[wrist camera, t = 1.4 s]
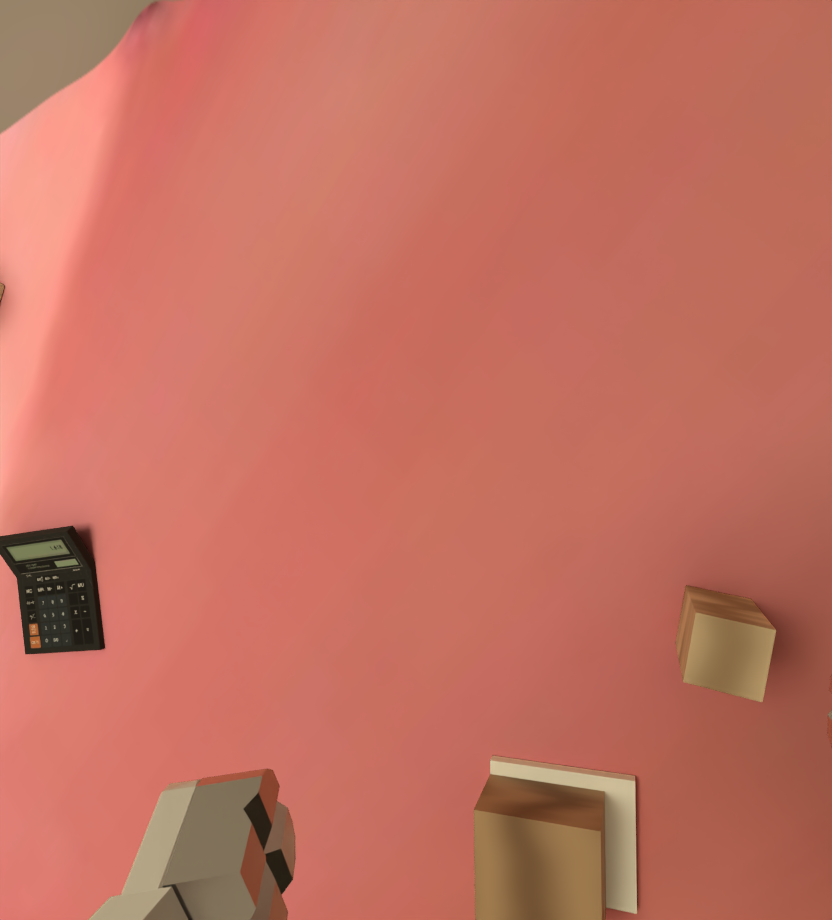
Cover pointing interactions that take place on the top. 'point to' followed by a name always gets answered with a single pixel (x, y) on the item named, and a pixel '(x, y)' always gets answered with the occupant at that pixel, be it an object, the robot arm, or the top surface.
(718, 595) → the oak block
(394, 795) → the top surface
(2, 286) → the skincare box
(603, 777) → the baseplate
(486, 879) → the walnut brick
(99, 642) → the calculator
